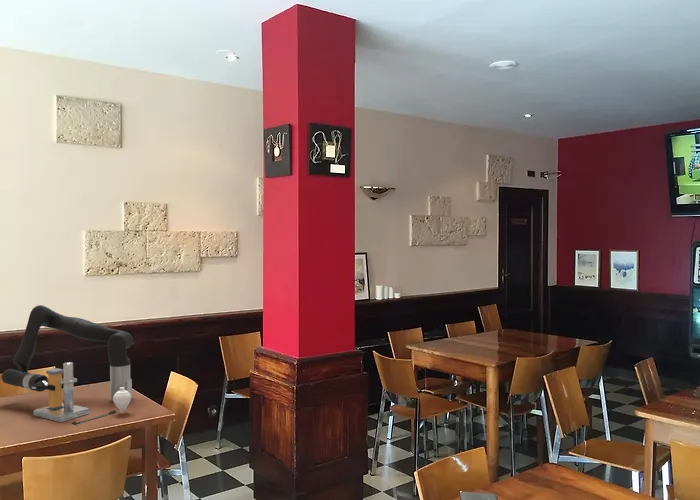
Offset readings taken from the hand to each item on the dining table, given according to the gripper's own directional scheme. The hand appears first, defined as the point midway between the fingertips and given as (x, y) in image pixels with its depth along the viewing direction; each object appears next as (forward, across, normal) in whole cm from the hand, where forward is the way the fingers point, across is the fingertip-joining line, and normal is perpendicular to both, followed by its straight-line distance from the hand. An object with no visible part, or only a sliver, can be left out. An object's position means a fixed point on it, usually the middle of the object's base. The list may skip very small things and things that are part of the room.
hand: (59, 387), depth 266 cm
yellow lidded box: (-3, 0, +9) cm, 9 cm away
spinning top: (+24, +14, +12) cm, 31 cm away
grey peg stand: (+2, 0, +12) cm, 12 cm away
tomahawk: (+20, +4, +13) cm, 24 cm away
